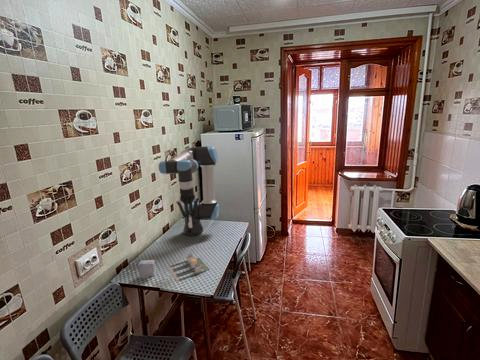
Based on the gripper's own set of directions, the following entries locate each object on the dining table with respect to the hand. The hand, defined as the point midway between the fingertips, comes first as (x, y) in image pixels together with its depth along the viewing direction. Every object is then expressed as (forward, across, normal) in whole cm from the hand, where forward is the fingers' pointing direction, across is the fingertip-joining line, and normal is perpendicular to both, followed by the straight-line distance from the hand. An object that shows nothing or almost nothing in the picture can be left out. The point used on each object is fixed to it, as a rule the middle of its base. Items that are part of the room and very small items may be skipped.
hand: (190, 226), depth 150 cm
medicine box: (+23, -26, +1) cm, 35 cm away
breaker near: (+22, -2, -13) cm, 25 cm away
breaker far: (+22, -2, -1) cm, 22 cm away
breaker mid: (+22, -2, -7) cm, 23 cm away
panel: (+23, -4, -7) cm, 24 cm away
